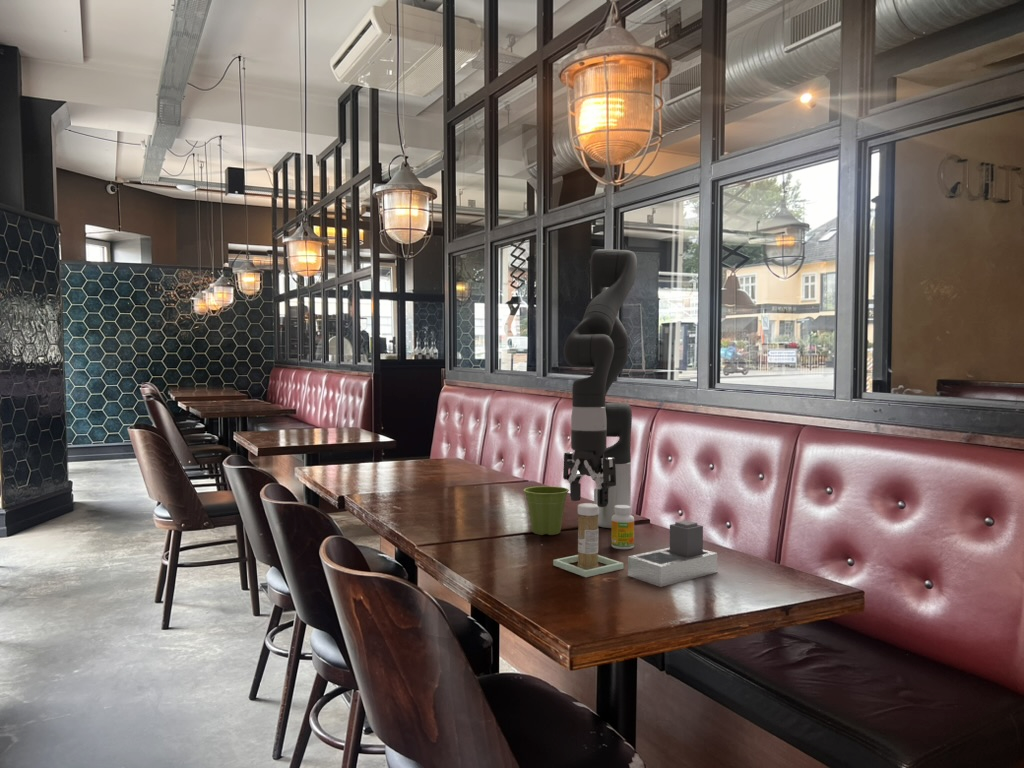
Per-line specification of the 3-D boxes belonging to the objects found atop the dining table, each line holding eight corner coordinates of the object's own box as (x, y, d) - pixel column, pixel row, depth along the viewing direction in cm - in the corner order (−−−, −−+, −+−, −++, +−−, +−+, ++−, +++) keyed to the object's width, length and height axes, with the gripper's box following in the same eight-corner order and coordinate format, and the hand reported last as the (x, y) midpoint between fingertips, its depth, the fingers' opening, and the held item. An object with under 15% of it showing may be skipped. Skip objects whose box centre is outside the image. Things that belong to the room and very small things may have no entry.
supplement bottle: (616, 550, 163) (617, 509, 163) (607, 544, 168) (607, 504, 168) (638, 548, 165) (638, 507, 164) (628, 543, 170) (628, 503, 170)
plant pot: (575, 529, 184) (575, 487, 184) (559, 540, 173) (559, 494, 173) (534, 525, 189) (534, 484, 189) (515, 535, 178) (515, 491, 178)
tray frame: (553, 565, 151) (553, 559, 151) (590, 557, 157) (590, 552, 157) (585, 577, 142) (585, 571, 142) (623, 568, 148) (623, 563, 148)
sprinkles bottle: (575, 564, 152) (575, 502, 151) (596, 563, 152) (596, 502, 152) (579, 570, 147) (579, 507, 147) (601, 569, 148) (601, 506, 147)
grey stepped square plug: (669, 567, 147) (669, 521, 147) (684, 563, 150) (685, 519, 150) (687, 572, 143) (687, 526, 143) (702, 568, 146) (703, 523, 146)
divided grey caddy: (628, 575, 143) (628, 556, 143) (683, 562, 153) (684, 544, 153) (660, 587, 136) (660, 566, 136) (717, 572, 146) (717, 553, 146)
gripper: (625, 429, 145) (625, 506, 146) (580, 425, 157) (580, 497, 157) (598, 430, 141) (598, 510, 141) (554, 426, 153) (554, 500, 153)
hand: (588, 503), depth 149 cm, fingers open, 8 cm apart
